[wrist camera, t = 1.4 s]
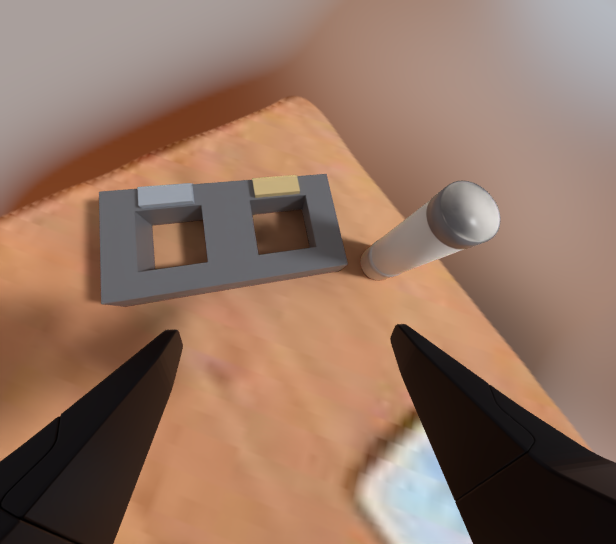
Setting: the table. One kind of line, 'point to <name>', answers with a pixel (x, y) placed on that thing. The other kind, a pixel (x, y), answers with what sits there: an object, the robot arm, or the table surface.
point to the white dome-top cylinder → (435, 231)
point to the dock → (213, 236)
